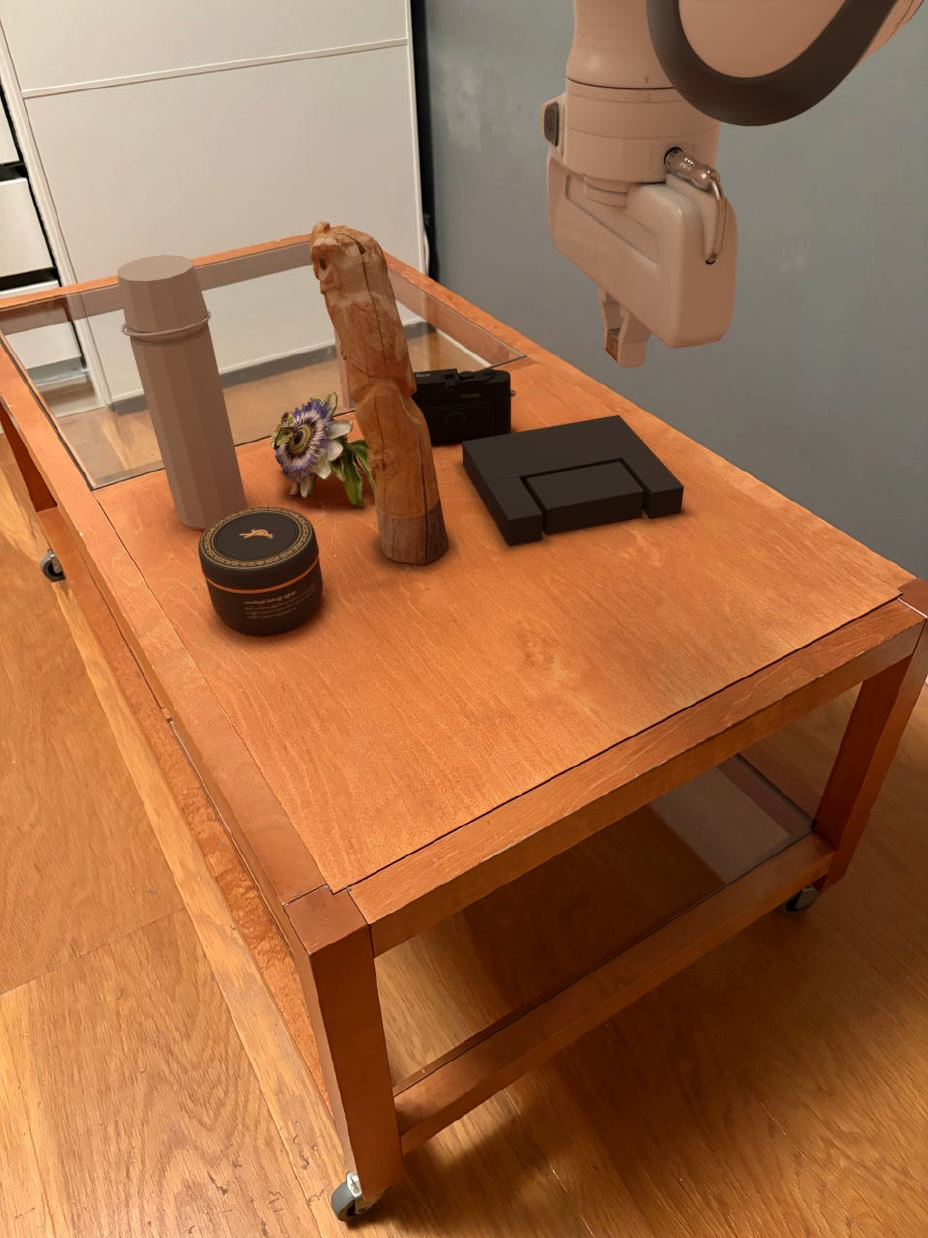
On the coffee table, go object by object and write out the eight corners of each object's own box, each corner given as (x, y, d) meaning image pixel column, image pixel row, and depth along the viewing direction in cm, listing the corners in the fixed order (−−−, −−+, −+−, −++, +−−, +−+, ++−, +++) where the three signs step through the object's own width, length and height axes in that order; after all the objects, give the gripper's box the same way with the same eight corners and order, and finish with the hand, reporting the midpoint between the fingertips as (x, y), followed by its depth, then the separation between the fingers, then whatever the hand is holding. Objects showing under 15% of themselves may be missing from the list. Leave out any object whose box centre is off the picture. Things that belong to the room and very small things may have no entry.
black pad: (617, 486, 98) (619, 461, 96) (641, 516, 94) (644, 490, 92) (526, 503, 96) (526, 477, 94) (546, 535, 92) (546, 509, 90)
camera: (507, 410, 112) (507, 346, 107) (519, 439, 107) (518, 373, 101) (387, 422, 111) (381, 357, 106) (392, 452, 105) (386, 385, 100)
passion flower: (306, 536, 103) (241, 441, 100) (381, 483, 107) (320, 390, 104) (342, 525, 93) (270, 419, 90) (423, 466, 97) (357, 363, 94)
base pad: (617, 438, 106) (618, 414, 104) (681, 512, 94) (684, 486, 92) (462, 466, 102) (461, 441, 101) (508, 546, 90) (508, 520, 89)
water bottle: (263, 518, 96) (213, 269, 80) (188, 544, 93) (121, 290, 77) (230, 480, 102) (177, 242, 86) (159, 503, 99) (91, 260, 83)
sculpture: (347, 537, 93) (303, 218, 74) (440, 522, 94) (420, 206, 75) (356, 576, 88) (310, 244, 69) (454, 560, 89) (437, 231, 70)
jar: (208, 586, 87) (190, 516, 82) (315, 564, 89) (304, 494, 85) (221, 653, 80) (202, 581, 75) (337, 627, 82) (326, 555, 77)
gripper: (785, 169, 47) (743, 420, 56) (621, 93, 63) (608, 299, 71) (669, 183, 46) (645, 437, 55) (531, 102, 61) (529, 311, 70)
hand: (623, 358), depth 63 cm, fingers closed
